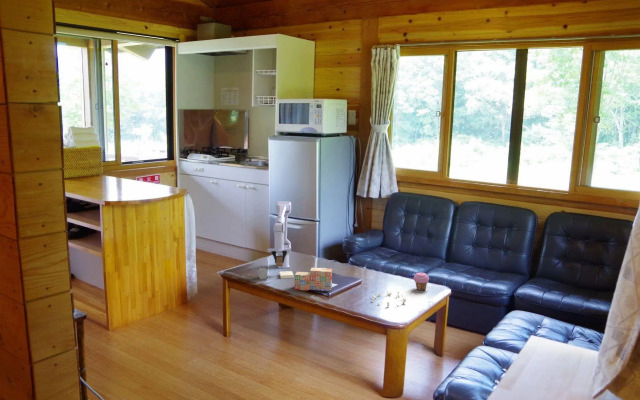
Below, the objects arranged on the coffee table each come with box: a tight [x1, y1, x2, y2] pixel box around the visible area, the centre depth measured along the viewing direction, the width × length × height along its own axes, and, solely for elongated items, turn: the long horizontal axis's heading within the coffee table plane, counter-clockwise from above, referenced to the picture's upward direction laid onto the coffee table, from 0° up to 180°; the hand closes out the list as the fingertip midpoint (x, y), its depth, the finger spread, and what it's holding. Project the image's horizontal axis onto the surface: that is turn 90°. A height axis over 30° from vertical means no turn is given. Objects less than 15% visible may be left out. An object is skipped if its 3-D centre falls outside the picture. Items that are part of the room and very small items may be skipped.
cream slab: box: [279, 270, 295, 280], centre depth 334 cm, size 8×8×2 cm
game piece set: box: [371, 290, 407, 308], centre depth 291 cm, size 19×20×4 cm
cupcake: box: [413, 272, 430, 291], centre depth 310 cm, size 9×9×10 cm
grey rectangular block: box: [258, 267, 268, 280], centre depth 331 cm, size 4×4×6 cm
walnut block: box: [275, 255, 283, 268], centre depth 334 cm, size 4×4×6 cm
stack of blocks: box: [294, 267, 333, 291], centre depth 310 cm, size 21×6×12 cm, turn 81°
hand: (279, 262), depth 335 cm, fingers closed on walnut block, 4 cm apart
